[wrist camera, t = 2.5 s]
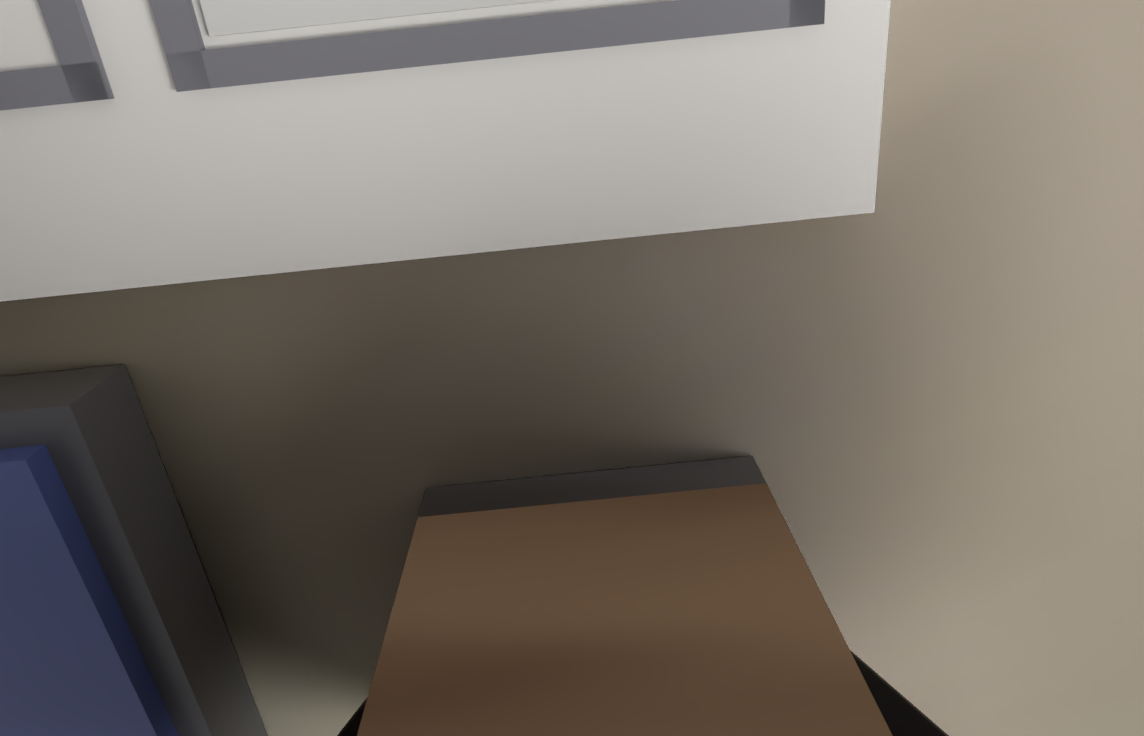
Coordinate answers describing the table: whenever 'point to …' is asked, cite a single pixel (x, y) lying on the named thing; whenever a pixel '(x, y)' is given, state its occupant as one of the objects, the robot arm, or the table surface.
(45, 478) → the ink pad
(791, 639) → the beige block
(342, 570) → the table surface
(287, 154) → the sheet
